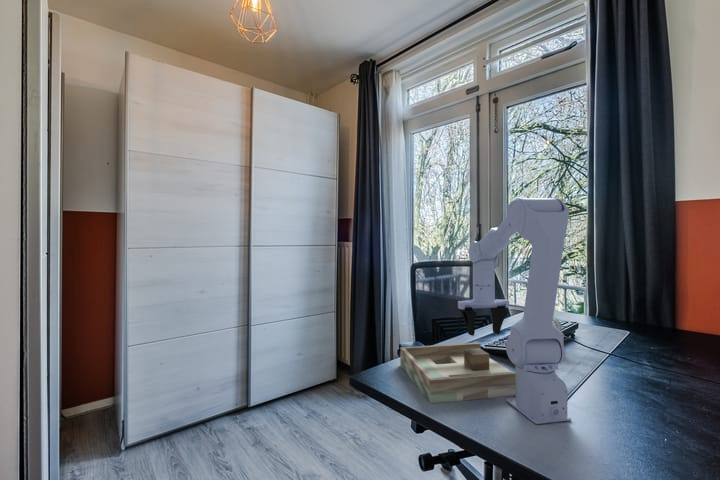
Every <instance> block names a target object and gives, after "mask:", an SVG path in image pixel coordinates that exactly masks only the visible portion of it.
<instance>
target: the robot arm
mask: <svg viewBox="0 0 720 480" xmlns="http://www.w3.org/2000/svg"><path fill="white" fill-rule="evenodd" d="M569 215H570V210H569V208H568V206H567V205H566V204H565V202H564V200H562V199H561V198H559V197H552V198H539V197H537V198H535V197H531V198H530V197H529V198H528V197H527V198H526V197H520V196H519V197H518V196H517V197H514V198H513V199H512V200H511V201H510V202H509V204H508V205H507V207H506V216H505V217H504V219H503V220H502V221H501V223H500V224H499V225H498V227H491V228H490V229H489V230H488V231H487V232H486V233H485V235H484V236H483V237H482V238H481V239H480V240H479V241H473V240H472V242H471V243H470V244H469V247H468V248H469V249H468V256H469V260H470V262H472V299H467V300H458V301H457V309H459V311H460V314H461V315H462V317H463V319H464V323H465V325H466V326H465V327H466V330H467V334H468V335H469V336H473V337H474V336H475V332H476V330H475V327H476V326H475V324H476V316H477V312H476V311H475V310H474V309H486V308H487V309H488V308H490V309H489V310H490V312H491V321H492V323H491V324H492V333H494V334H495V335H499V334H500V332H501V329H502V327H503V323H504V320H505V318H506V316H507V315H508V313H509V309H508V308H510V300H509V299H495V297H496V294H495V292H496V290H495V289H496V288H495V287H496V285H495V283H496V282H495V279H496V276H495V275H496V272H495V269H497V268H498V267H497V266H498V260H499V257H500V253H501V252H502V251H503V250H504V249H505V248H507V247H508V245H509V244H510V243H511V242H510V241H511V237H513V235H515V234H516V233H517V234H519V236H520V237H521V238H522V239H524V240H526V241H528V242H529V244H530V245H531V252H530V253H531V254H530V262H529V270H528V278H527V285H526V286H527V287H526V292H525V293H526V294H525V301H524V310H523V317H522V318H521V319H519V320H518V321H517V322H515V323H514V324H513V325H512V326H511V327H510V332H509V335H508V337H507V339H506V343H505V349H506V350H505V351H506V354H507V356H508V359H509V360H510V361H511V363H512V364H513V365H514V366H515V372H516V396H515V397H510V398H509V397H508V398H506V402H507V403H509V404H510V405H511V406H512V407H514V409H516V410H518V412H520V413H522V414H523V415H524V416H525V417H526V418H527V419H529V420H530V421H531V422H532V423H534V424H537V425H539V424H541V425H542V424H548V423H549V424H550V423H557V422H567V421H571V420H572V417H571V416H570V415H568V387H567V385H566V383H565V381H564V380H562V379H561V378H560V376H558V375H557V373H556V370H559V365H561V364H562V363H563V362H564V360H565V357H566V356H565V354H566V349H565V344H564V340H565V334H564V333H563V331H562V332H561V331H560V330H559V329H558V328H557V326H556V325H555V324H554V322H553V316H554V315H555V308H556V302H557V301H556V300H557V295H558V294H557V293H558V289H559V287H558V286H559V282H560V281H559V280H560V273H561V268H562V267H561V266H562V260H563V255H564V254H563V253H564V247H565V246H564V245H565V238H566V236H567V231H568V224H569V217H570V216H569ZM554 317H555V316H554Z"/></svg>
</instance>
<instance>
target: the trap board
mask: <svg viewBox="0 0 720 480" xmlns="http://www.w3.org/2000/svg"><path fill="white" fill-rule="evenodd" d="M481 347H482V346H481V343H480V342H469V343H466V342H465V343H455V344H454V343H452V344H451V343H450V344H436V345H434V344H433V345H421V346H419V345H418V346H405V347H400V348H399V351H400V353H399V354H400V355H399V360H400V362H399V364H400V367H401V368H402V370H403V371H404V372H405V373H406V374H407V375H408V377H409V378H410V380H411V381H412V382H413V383H414V384H415V385H416V387H417V388H418V390H420V392H421V393H422V395H423V396H424V398H426V399H427V401H428V402H429V403H430V404H439V403H452V402H462V401H471V400H481V399H493V398H503V397H514V396H515V397H516V371H511V370H509V369H508V368H506V367H505V366H503V365H501V364H500V363H498V362H497V361H495V360H494V359H492V358H491V357H489V370H481V371H472V370H471V369H469V368H468V367H467V366H466V365H464V349H476V348H480V349H482V348H481Z"/></svg>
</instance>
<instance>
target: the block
mask: <svg viewBox="0 0 720 480" xmlns="http://www.w3.org/2000/svg"><path fill="white" fill-rule="evenodd" d="M489 358H490V353H488V351H485V350H483V349H482V348H481V349H480V348H476V349H464V365H466V366H467V367H468V368H469V369H471V370H472V371H481V370H489Z"/></svg>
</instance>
